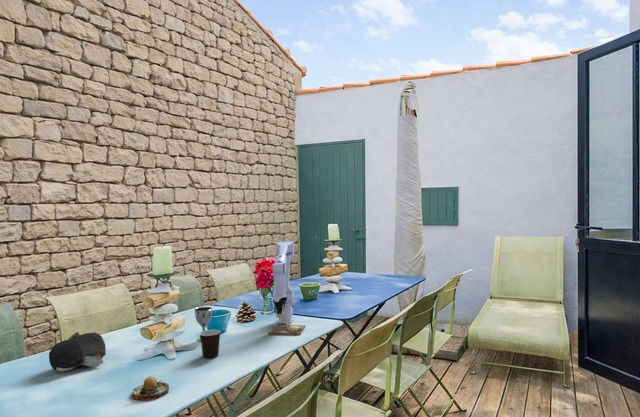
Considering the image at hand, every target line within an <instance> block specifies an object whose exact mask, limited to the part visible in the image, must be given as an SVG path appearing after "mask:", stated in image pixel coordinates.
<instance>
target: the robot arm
mask: <svg viewBox="0 0 640 417" xmlns="http://www.w3.org/2000/svg"><path fill="white" fill-rule="evenodd" d="M275 252H276V257H275V262H274V263H273V264H272V277H273V282H274V283H273V287H274V288H273V289H274V294H272V295H271V297H274V299H273V300H272V303H273V304H274V307H275V312H276V311H277V314H282V308H283V305H284V317H282V318H278V320H277V321H276V323H280V322H287V323H289V324H292V323H293V321H294V319H295V317H294V315H293V310H294V309H293V304H294V303H295V291H294V290H293V288H291V287H290V263H291V259H292V258H293V257H294V255H295V243H294V241H293V240H291V241H276V243H275Z"/></svg>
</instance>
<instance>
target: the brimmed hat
mask: <svg viewBox="0 0 640 417" xmlns="http://www.w3.org/2000/svg"><path fill="white" fill-rule="evenodd" d="M169 387H170V385H169V384H168V383H167V382H164V381H162V380H159V381H158V379H157V378H156V377H154V376H151V375H150V376H148V377H146V378H145V379H144V380H143V384H141V385H138V386H137V387H135V388H133V389H132V393H131V397H132V398H133V400H140V401H142V402H145V401H147V400H148V401H153V400H156V399H155V398H157V399H160V398H162V397H163V398H164V396H166V395H168V393H169V390H170V388H169ZM159 397H160V398H159ZM152 399H153V400H152Z"/></svg>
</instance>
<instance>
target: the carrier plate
mask: <svg viewBox="0 0 640 417" xmlns="http://www.w3.org/2000/svg"><path fill="white" fill-rule="evenodd" d="M305 328H306V325H305V324H298V325H297V324H291V325H290V323H287V322H280V323H277V322H276V323H273V327H272V328H271V329H270V330H269V331H268V332H267V335H268V336H271V335H272V336H301V335H302V333H303V331H304V329H305Z"/></svg>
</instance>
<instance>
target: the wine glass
mask: <svg viewBox="0 0 640 417" xmlns="http://www.w3.org/2000/svg"><path fill="white" fill-rule="evenodd" d="M212 315H213V309H212V306H200V307H196V308H194V318H195V321H196V323H197V324H199V325H200V327H201V329H202V332H203V331H206V328H207V326H208V324H209V323H210V322H211V320H212ZM196 342H197V343H201V340H200V338H197V339H196Z"/></svg>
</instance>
